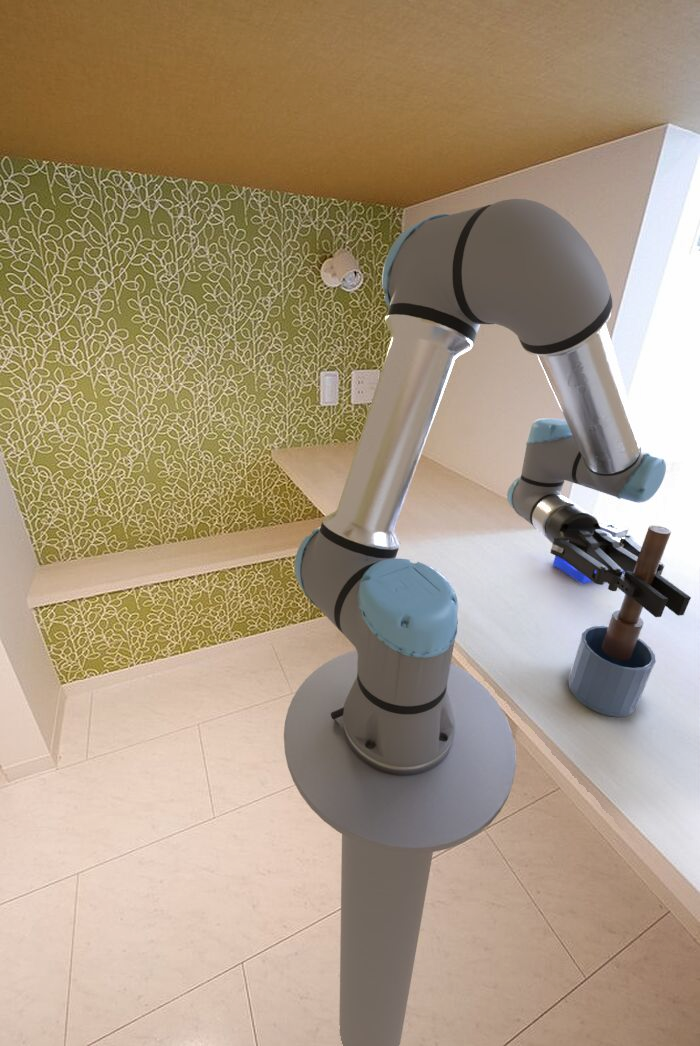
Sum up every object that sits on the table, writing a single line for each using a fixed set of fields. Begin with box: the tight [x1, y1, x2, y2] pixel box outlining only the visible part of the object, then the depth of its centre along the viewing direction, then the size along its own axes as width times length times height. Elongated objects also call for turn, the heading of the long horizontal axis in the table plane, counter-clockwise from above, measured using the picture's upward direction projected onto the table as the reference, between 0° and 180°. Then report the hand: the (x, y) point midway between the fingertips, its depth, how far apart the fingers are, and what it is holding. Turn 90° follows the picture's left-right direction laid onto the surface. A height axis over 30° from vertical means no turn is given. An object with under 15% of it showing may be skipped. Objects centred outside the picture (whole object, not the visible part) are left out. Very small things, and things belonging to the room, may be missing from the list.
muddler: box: [602, 525, 672, 660], centre depth 59 cm, size 4×4×20 cm
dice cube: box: [599, 520, 629, 538], centre depth 110 cm, size 5×5×5 cm
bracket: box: [552, 555, 625, 585], centre depth 99 cm, size 18×8×9 cm, turn 112°
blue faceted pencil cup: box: [567, 625, 657, 718], centre depth 65 cm, size 9×9×9 cm
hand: (672, 607), depth 54 cm, fingers closed on muddler, 2 cm apart
